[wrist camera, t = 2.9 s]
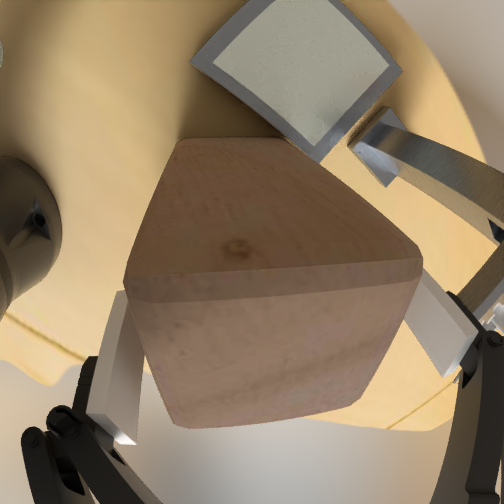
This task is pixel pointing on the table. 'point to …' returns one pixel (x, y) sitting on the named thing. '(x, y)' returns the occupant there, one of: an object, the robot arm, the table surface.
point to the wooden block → (263, 284)
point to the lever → (485, 285)
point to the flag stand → (494, 316)
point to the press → (341, 100)
